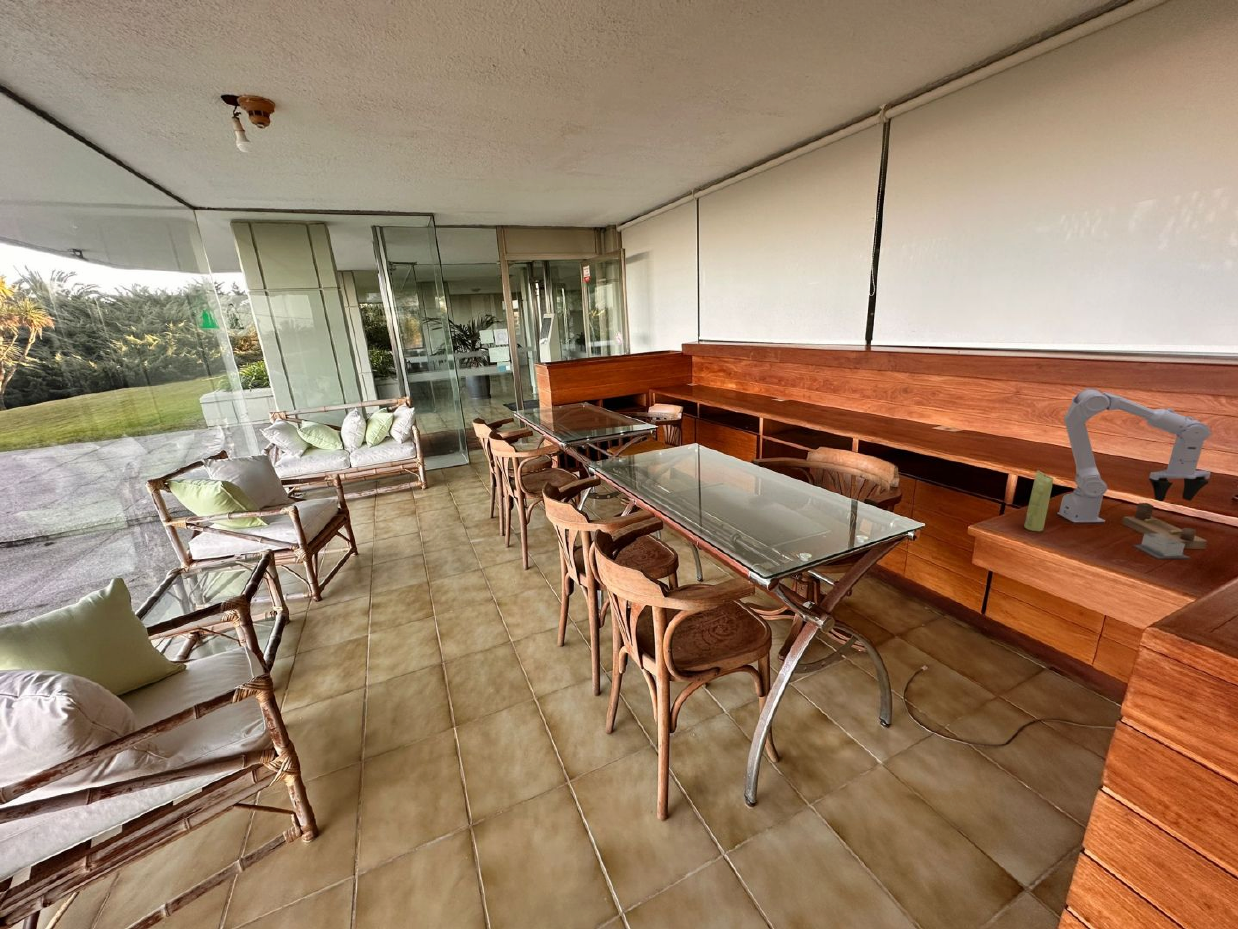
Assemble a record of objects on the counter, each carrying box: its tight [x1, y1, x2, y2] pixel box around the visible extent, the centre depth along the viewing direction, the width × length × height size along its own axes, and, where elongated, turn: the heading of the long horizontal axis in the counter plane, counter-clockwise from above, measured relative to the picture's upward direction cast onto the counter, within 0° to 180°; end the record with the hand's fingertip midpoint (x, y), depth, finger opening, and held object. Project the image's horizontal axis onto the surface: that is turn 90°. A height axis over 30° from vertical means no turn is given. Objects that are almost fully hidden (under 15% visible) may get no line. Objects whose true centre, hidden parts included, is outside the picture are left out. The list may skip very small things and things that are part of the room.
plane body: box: [1121, 502, 1208, 550], centre depth 149 cm, size 8×18×8 cm, turn 172°
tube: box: [1024, 470, 1054, 532], centre depth 158 cm, size 6×5×20 cm
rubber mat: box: [1132, 544, 1191, 560], centre depth 141 cm, size 8×8×1 cm
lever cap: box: [1140, 533, 1185, 557], centre depth 141 cm, size 4×7×4 cm, turn 174°
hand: (1172, 499), depth 152 cm, fingers open, 7 cm apart
